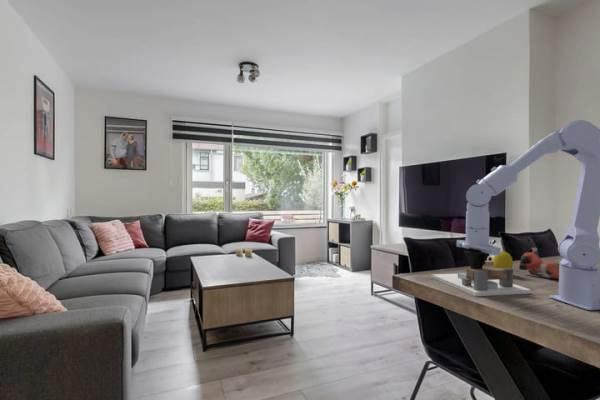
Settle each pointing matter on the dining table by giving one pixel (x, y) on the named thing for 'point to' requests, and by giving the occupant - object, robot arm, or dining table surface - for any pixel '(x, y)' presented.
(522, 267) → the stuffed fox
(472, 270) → the latch bar
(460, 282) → the latch frame
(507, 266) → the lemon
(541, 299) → the dining table surface
